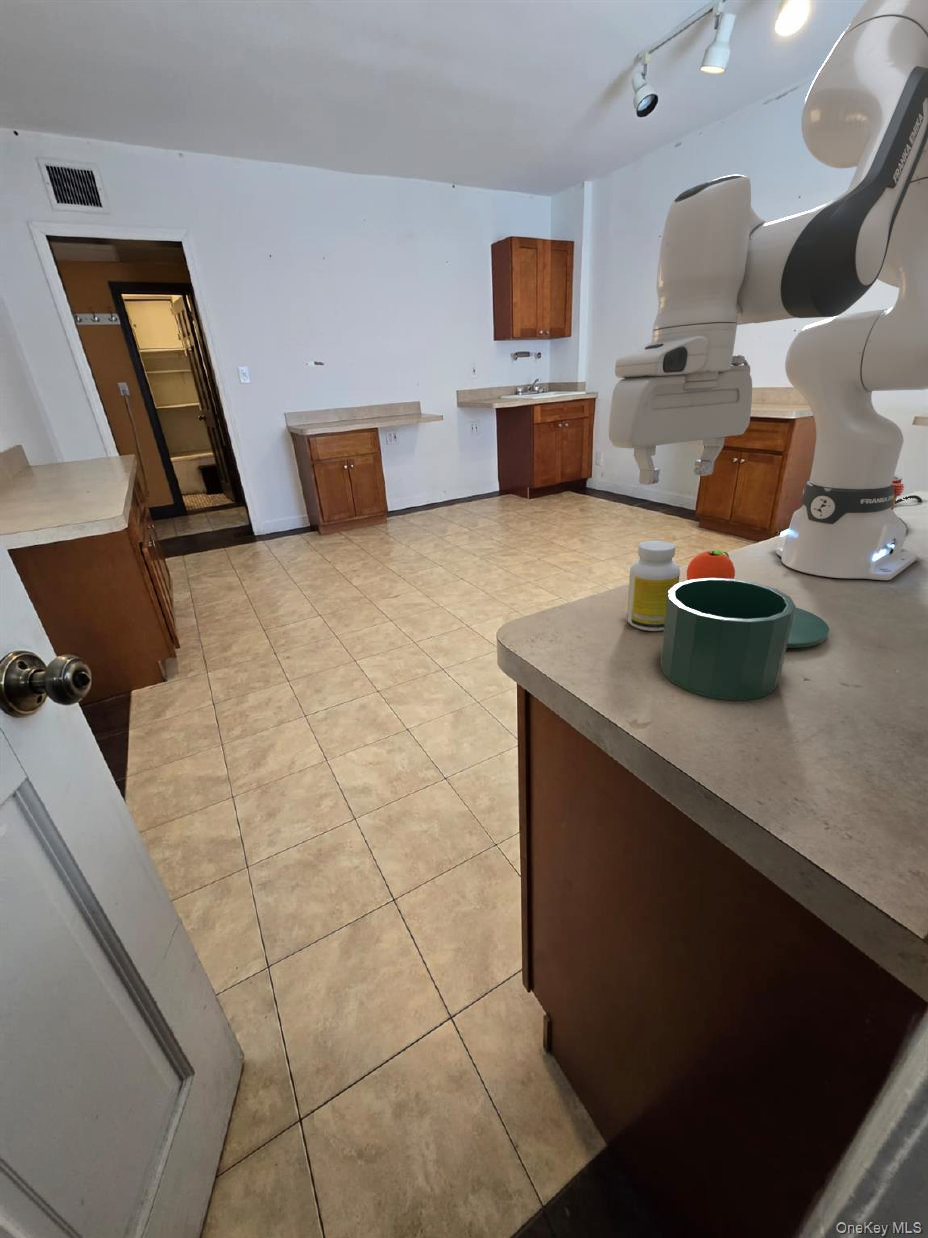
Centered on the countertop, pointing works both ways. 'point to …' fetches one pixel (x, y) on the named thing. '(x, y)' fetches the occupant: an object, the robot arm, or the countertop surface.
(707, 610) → the tin
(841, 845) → the countertop surface
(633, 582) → the pill bottle
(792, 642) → the lid
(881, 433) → the robot arm
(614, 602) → the countertop surface
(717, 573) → the clementine
